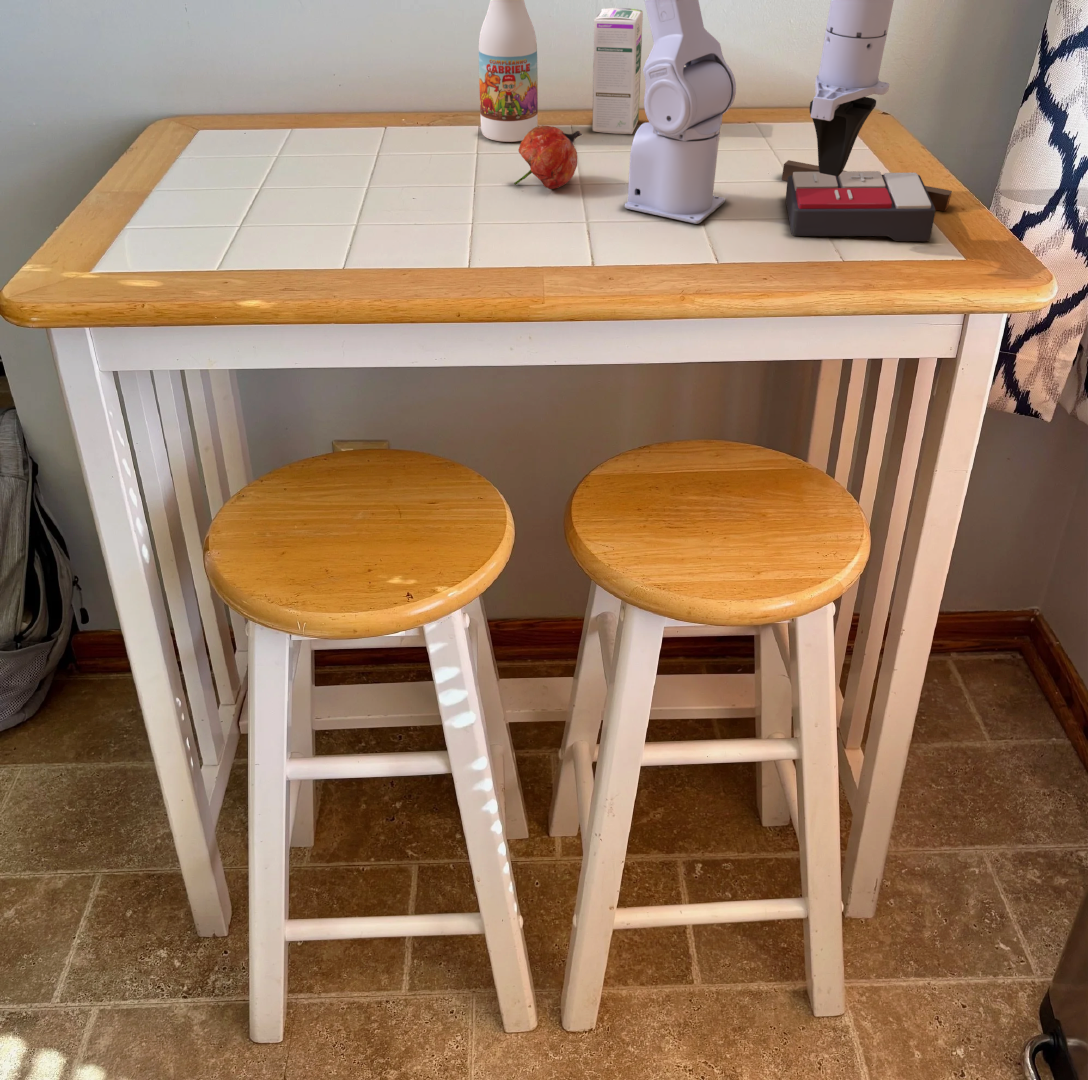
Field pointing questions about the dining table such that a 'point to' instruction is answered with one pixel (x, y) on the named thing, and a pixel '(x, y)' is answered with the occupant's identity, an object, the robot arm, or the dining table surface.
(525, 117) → the milk bottle
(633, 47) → the syrup box
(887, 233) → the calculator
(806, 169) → the bar
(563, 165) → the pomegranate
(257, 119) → the dining table surface
